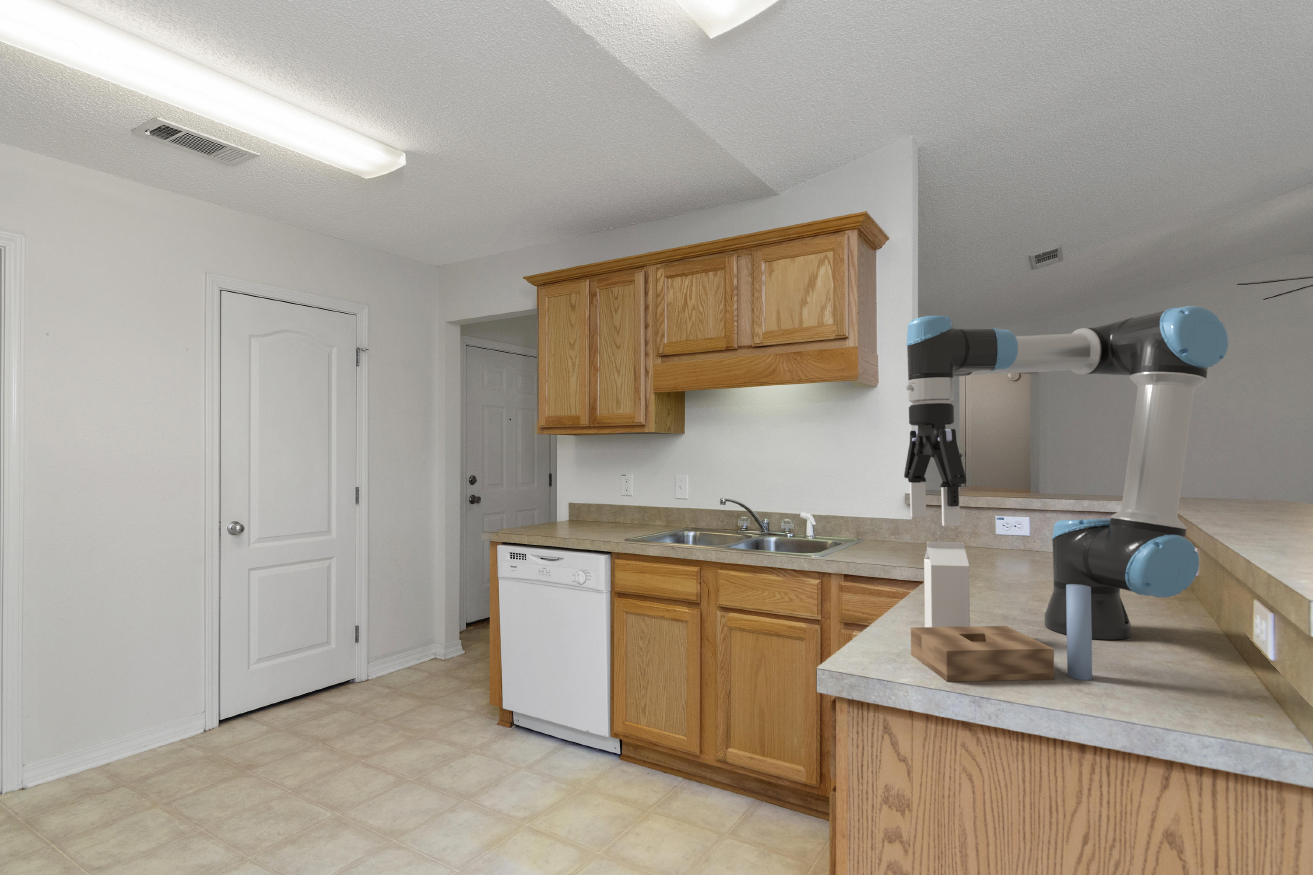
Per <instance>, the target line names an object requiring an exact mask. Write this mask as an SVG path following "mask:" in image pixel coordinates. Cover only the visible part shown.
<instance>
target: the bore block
mask: <svg viewBox="0 0 1313 875" xmlns="http://www.w3.org/2000/svg"><path fill="white" fill-rule="evenodd" d="M910 655H911V656H912V657H913V658H915V659H916V660H918V661H919V662H920V663H922V664H923V665H924V666H925V667H927V668H928V669H930V670H931V671H932V672H933V673H935V674H936V675H938V676H939V677H940V678H942V679H943V680H944V681H946V682H978V681H979V682H981V681H983V682H984V681H985V682H987V681H989V682H990V681H991V682H992V681H1033V680H1036V681H1037V680H1055V648H1053V647H1051V646H1048V645H1047V644H1044V643H1043V642H1040V641H1038V640H1037V639H1035V638H1032V637H1030V636H1029V635H1026V634H1024V633H1021V631H1020V632H1019V631H1018V630H1016V629H1014V628H1012V627H1009V626H1008V625H989V626H987V625H985V626H984V625H983V626H981V625H979V626H977V625H976V626H975V625H974V626H970V627H925V626H924V627H923V626H920V627H910Z"/></svg>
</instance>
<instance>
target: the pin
mask: <svg viewBox="0 0 1313 875" xmlns="http://www.w3.org/2000/svg"><path fill="white" fill-rule="evenodd" d="M1066 609H1067V634H1066V659H1067V660H1066V663H1067V664H1066V667H1067V668H1066V669H1067V670H1066V671H1067V677H1069V678H1072V679H1074V680H1080V681H1092V680H1093V650H1092V649H1093V639H1092V627H1091V587H1090V586H1086V585H1079V584H1068V585H1066Z"/></svg>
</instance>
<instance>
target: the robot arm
mask: <svg viewBox="0 0 1313 875" xmlns="http://www.w3.org/2000/svg"><path fill="white" fill-rule="evenodd" d="M953 326H954V325H953V323H952V318H951V317H949V316H947V315H925V316H921V317H917V318H913V319H911V320H910V321H908V324H907V332H906V345H905V346H906V347H907V348H906V350H907V354H906V355H907V376H908V377H907V378H908V383H907V384H908V385H907V386H905V388H906V390H907V391H908V401H909V403H912V404H911V405H909V406H908V423H909V425H910V426H917V427H918V428H917V430H910V432H909V444H908V445H909V446H908V451H907V456H906V461H905V462H906V463H905V468H904V473H903V476H904V479H907V481H908V483H909V505H910V506H909V507H910V508H909V509H910V512H909V513H910V518H927V498H926V497H927V495H926V494H927V492H926V491H927V490H926V486H927V485H926V482H927V479H926V477H925V476H926V473H927V469H928V466H929V463H930V461H931V458H933V460H934V463H935V466H936V468H937V470H938V473H939V476H940V478H941V481H942V482H941V484H940V485H939V487H940V488H941V489H940V490H941V497H940V498H941V523H942V524H941V525H942V526H943V527H957V526H959V527H960V526H961V515H960V512H961V510H960V487H961V486H962V485H965V484H966V483H967V477H966V473H965V470H964V466H963V461H962V457H961V454H960V450H959V446H958V442H957V430H956V429H955V428H947V427H946V426H947V425H948V426H949V425H952V424H954V423H955V410H954V408H955V407H954V405H953V403H951V401H954V400H955V397H954V396H955V395H954V377H965V376H984V375H985V376H986V375H987V376H988V375H1002V374H1003V375H1005V374H1024V373H1026V374H1027V373H1040V372H1041V373H1043V372H1059V371H1060V372H1063V371H1071V372H1073V373H1074V374H1076V375H1109V376H1110V375H1111V376H1113V375H1114V376H1129V380H1131V381H1132V382H1133V383H1134V384H1135V385H1136V386H1137V392H1136V398H1135V407H1134V414H1133V421H1132V428H1131V436H1130V441H1129V442H1130V443H1129V451H1128V458H1127V465H1126V471H1125V477H1124V478H1125V481H1124V487H1123V496H1122V501H1121V508H1120V510H1119V511H1117V512H1116V513H1114V514H1112V515H1111V516H1110V518H1091V519H1089V518H1088V519H1060V520H1057V521H1056V522H1055V523H1054V524H1053V527H1052V528H1053V529H1052V530H1053V531H1052V537H1051V540H1052V569H1053V570H1052V571H1053V572H1052V573H1053V574H1052V575H1053V576H1052V578H1053V588H1052V589H1053V590H1052V593H1051V596H1050V598H1049V601H1048V605H1047V608H1046V610H1045V613H1044V626H1045V627H1046V628H1047V629H1049V630H1052V631H1054V632H1057V633H1061V634H1062V635H1067V609H1066V585H1068V584H1079V585H1086V586H1090V587H1091V627H1092V640H1093V639H1096V640H1122V639H1123V640H1124V639H1128V638H1130V637H1131V636H1132V626H1131V622H1130V620H1129V615H1128V613H1127V611H1126V609H1125V606H1124V603H1123V601H1122V598H1121V592H1120V591H1121V589H1122V590H1125V591H1129V592H1131V593H1132V592H1133V593H1135V594H1136V595H1140V596H1146V597H1155V598H1160V599H1162V598H1163V599H1164V598H1171V597H1175V596H1177V595H1179V594H1180V593H1182V592H1183V591H1184V590H1186V589H1188V588H1189V587H1190V586H1191V585H1192V584H1193V582H1194V581H1195V579H1196V577H1197V574H1198V572H1199V568H1200V556H1199V553H1198V551H1196V546H1195V545H1194V544H1193V543H1192V542H1191V541H1190V540H1188V539H1187V538H1186V535H1187V526H1186V525H1185V524H1184V523H1183V522H1182V521H1181V520H1180V519H1179V517H1178V513H1179V507H1180V499H1181V492H1182V484H1183V478H1184V470H1185V464H1186V463H1185V462H1186V455H1187V447H1188V439H1189V433H1190V427H1191V426H1190V425H1191V418H1192V410H1193V405H1194V404H1193V402H1194V396H1195V391H1196V389H1198V388H1199V387H1200V386H1202V385H1203V384H1205V383H1206V382H1207V376H1208V371H1209V370H1208V369H1209V368H1211V367H1214V366H1215V365H1217V364H1219V363H1220V362H1221V360H1222V359H1224V358H1225V356H1226V355H1227V352H1228V349H1229V348H1228V347H1229V335H1228V332H1227V329H1226V327H1225V325H1224V323H1223V322H1222V321H1221V320H1220V319H1219V317H1218V315H1216V314H1215V313H1214V312H1213V311H1211V310H1210V309H1208V308H1205V307H1203V306H1198V305H1186V306H1180V307H1176V306H1175V307H1170V308H1168V309H1165V310H1161V311H1156V312H1152V313H1147V314H1143V315H1139V316H1133V317H1130V318H1125V319H1121V320H1119V321H1114V322H1112V323H1111V322H1110V323H1108V324H1103V325H1099V326H1093V327H1082V328H1078V329H1076V330H1074V331H1073V332H1071V333H1062V334H1061V333H1058V334H1057V333H1056V334H1038V335H1015V334H1014V332H1012V331H1011V330H1009V329H1001V328H995V327H992V328H955V327H953Z"/></svg>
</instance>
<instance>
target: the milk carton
mask: <svg viewBox="0 0 1313 875" xmlns="http://www.w3.org/2000/svg"><path fill="white" fill-rule="evenodd" d="M965 543H966V542H950V541H949V542H947V541H946V542H945V541H944V542H942V541H927V542H926V551H925V554H924V557H923V562H924V563H923V570H924V571H923V573H924V574H923V576H924V577H923V578H924V586H923V587H924V627H971V615H970V613H971V610H970V606H971V602H970V601H971V600H970V597H971V596H970V595H971V594H970V564H969V560H968V555H967V552H966V548H965V547H966V544H965Z"/></svg>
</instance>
